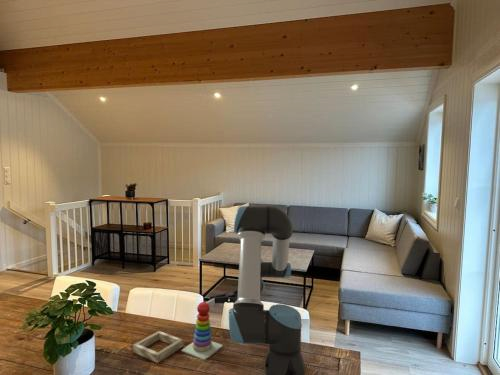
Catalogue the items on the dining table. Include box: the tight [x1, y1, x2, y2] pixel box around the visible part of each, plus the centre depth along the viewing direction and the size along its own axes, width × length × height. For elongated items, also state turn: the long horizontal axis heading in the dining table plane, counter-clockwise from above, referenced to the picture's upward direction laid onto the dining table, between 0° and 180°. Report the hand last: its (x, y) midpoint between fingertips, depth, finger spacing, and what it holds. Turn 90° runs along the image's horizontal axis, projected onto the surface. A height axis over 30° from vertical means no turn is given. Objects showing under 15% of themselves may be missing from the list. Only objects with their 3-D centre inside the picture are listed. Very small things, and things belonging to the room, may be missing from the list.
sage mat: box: [180, 340, 224, 361], centre depth 141 cm, size 12×12×1 cm
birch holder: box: [132, 330, 184, 363], centre depth 141 cm, size 14×14×3 cm
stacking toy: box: [192, 301, 212, 351], centre depth 141 cm, size 8×8×19 cm
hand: (217, 309), depth 149 cm, fingers open, 13 cm apart
